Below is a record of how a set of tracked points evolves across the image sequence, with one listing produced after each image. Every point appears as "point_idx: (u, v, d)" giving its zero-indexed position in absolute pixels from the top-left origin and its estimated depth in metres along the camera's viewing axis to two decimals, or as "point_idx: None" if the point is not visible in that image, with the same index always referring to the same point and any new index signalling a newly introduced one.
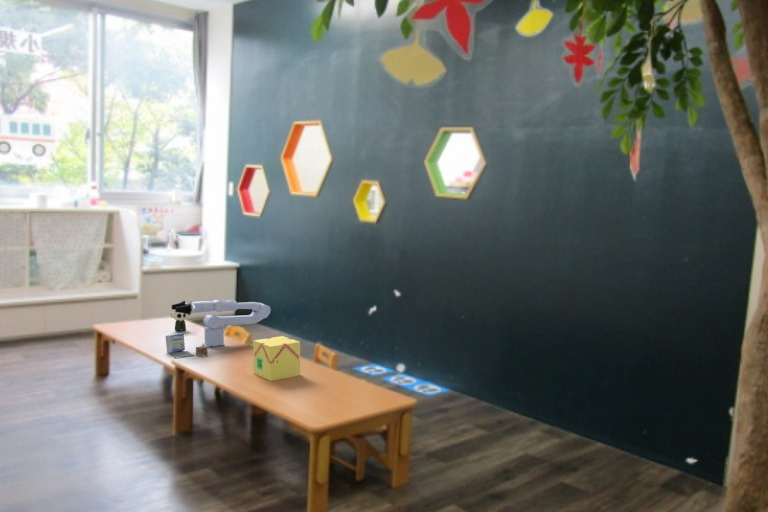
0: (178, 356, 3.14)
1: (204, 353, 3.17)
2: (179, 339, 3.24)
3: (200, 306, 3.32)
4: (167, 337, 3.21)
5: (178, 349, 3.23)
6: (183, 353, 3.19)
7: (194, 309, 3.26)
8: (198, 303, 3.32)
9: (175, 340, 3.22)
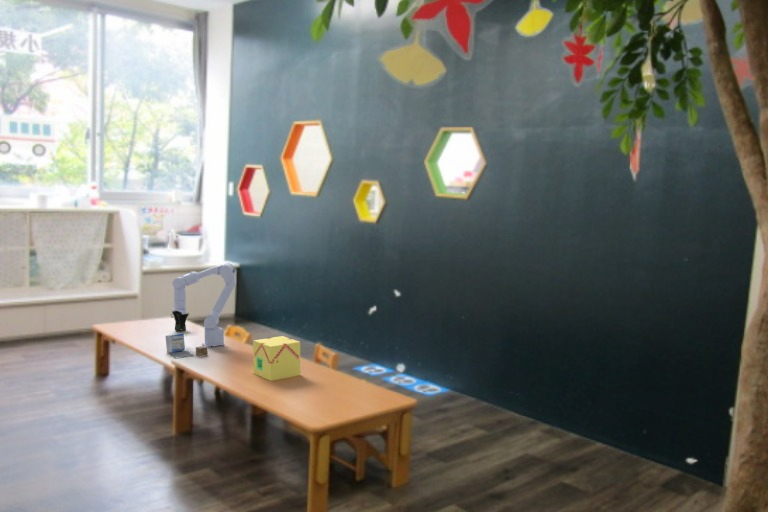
0: (178, 356, 3.14)
1: (204, 353, 3.17)
2: (179, 339, 3.24)
3: (179, 302, 3.34)
4: (167, 337, 3.21)
5: (178, 349, 3.23)
6: (183, 353, 3.19)
7: (183, 311, 3.31)
8: (176, 304, 3.34)
9: (175, 340, 3.22)
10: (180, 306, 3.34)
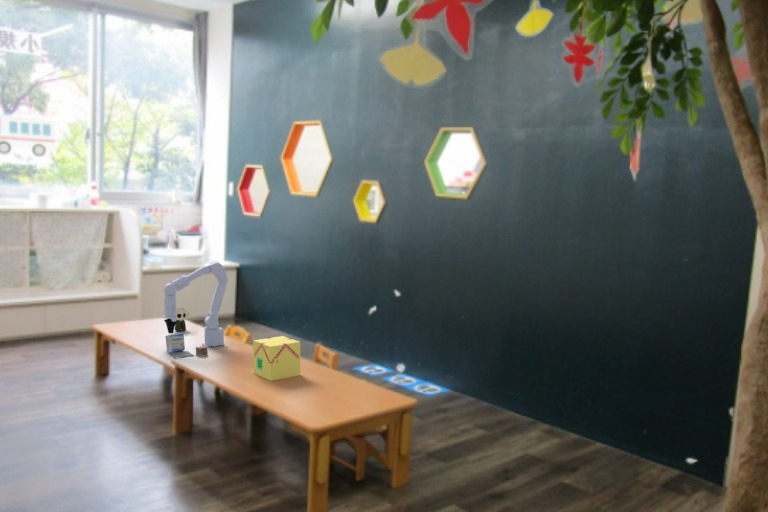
0: (178, 356, 3.14)
1: (204, 353, 3.17)
2: (179, 339, 3.24)
3: (170, 309, 3.27)
4: (167, 337, 3.21)
5: (178, 349, 3.23)
6: (183, 353, 3.19)
7: (173, 319, 3.24)
8: (166, 311, 3.28)
9: (175, 340, 3.22)
10: (170, 313, 3.28)
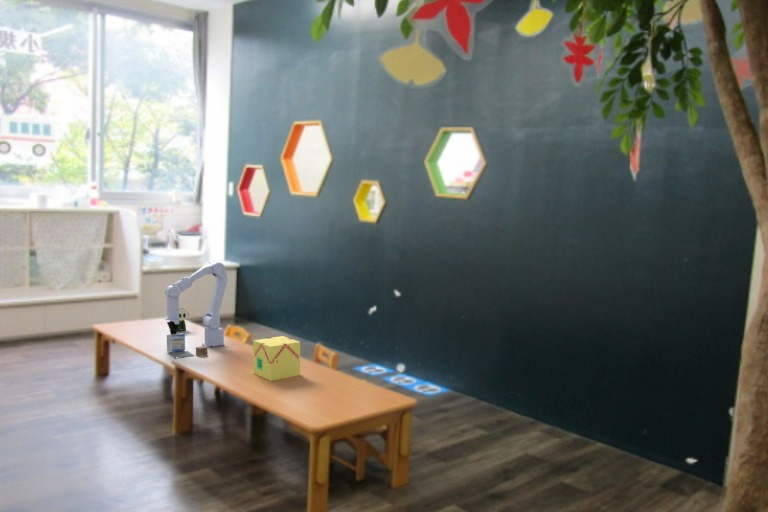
0: (178, 356, 3.14)
1: (204, 353, 3.17)
2: (180, 339, 3.24)
3: (173, 311, 3.23)
4: (168, 337, 3.21)
5: (178, 349, 3.23)
6: (183, 353, 3.19)
7: (176, 321, 3.20)
8: (169, 313, 3.23)
9: (176, 340, 3.22)
10: (173, 316, 3.24)
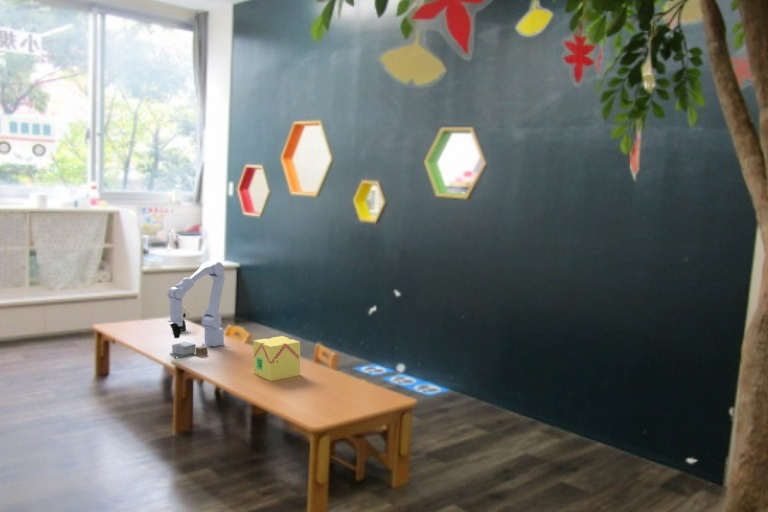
0: (178, 356, 3.14)
1: (204, 353, 3.17)
2: None
3: (176, 313, 3.18)
4: (181, 350, 3.15)
5: None
6: None
7: (180, 323, 3.15)
8: (172, 315, 3.18)
9: None
10: (176, 318, 3.19)
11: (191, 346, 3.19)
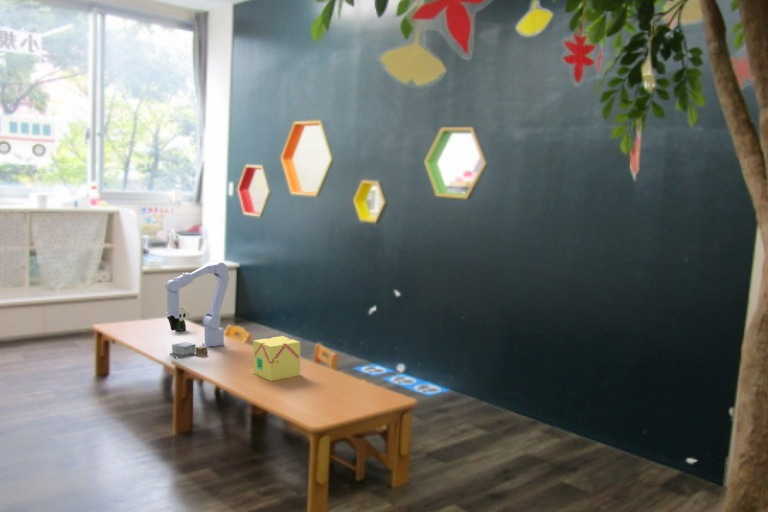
0: (178, 356, 3.14)
1: (204, 353, 3.17)
2: None
3: (173, 306, 3.23)
4: (181, 350, 3.15)
5: None
6: None
7: (176, 316, 3.19)
8: (169, 307, 3.23)
9: None
10: (173, 310, 3.23)
11: (191, 346, 3.19)
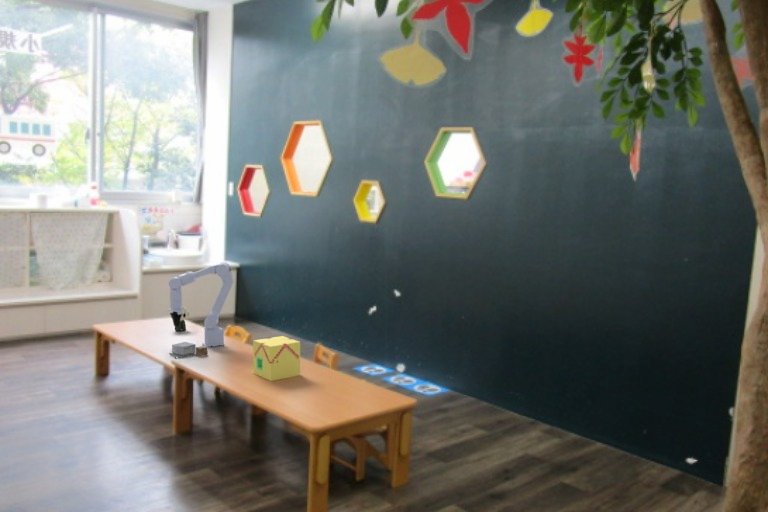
0: (178, 356, 3.14)
1: (204, 353, 3.17)
2: None
3: (176, 302, 3.33)
4: (181, 350, 3.15)
5: None
6: None
7: (179, 312, 3.30)
8: (172, 304, 3.33)
9: None
10: (176, 306, 3.33)
11: (191, 346, 3.19)
